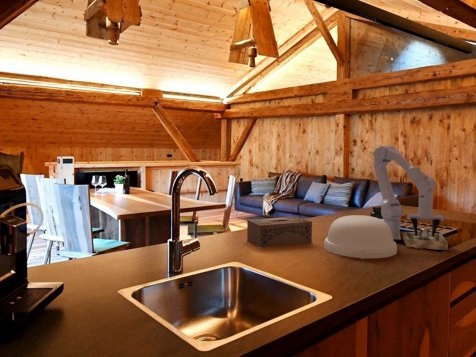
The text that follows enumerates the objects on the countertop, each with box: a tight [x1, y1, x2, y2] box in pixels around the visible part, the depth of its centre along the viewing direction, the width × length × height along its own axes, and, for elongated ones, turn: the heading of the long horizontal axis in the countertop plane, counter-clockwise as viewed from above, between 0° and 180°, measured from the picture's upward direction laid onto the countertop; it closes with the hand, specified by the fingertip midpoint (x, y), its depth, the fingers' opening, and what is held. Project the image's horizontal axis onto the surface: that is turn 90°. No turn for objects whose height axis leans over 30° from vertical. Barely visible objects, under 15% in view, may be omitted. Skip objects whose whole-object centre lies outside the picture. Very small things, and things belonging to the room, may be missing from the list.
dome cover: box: [323, 214, 398, 260], centre depth 174 cm, size 32×30×14 cm
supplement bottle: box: [369, 205, 383, 219], centre depth 214 cm, size 7×7×12 cm
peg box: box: [402, 231, 449, 251], centre depth 182 cm, size 16×16×4 cm
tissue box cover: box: [246, 215, 313, 248], centre depth 187 cm, size 26×14×10 cm, turn 111°
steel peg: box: [419, 227, 430, 240], centre depth 182 cm, size 4×4×7 cm
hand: (424, 235), depth 182 cm, fingers open, 6 cm apart
